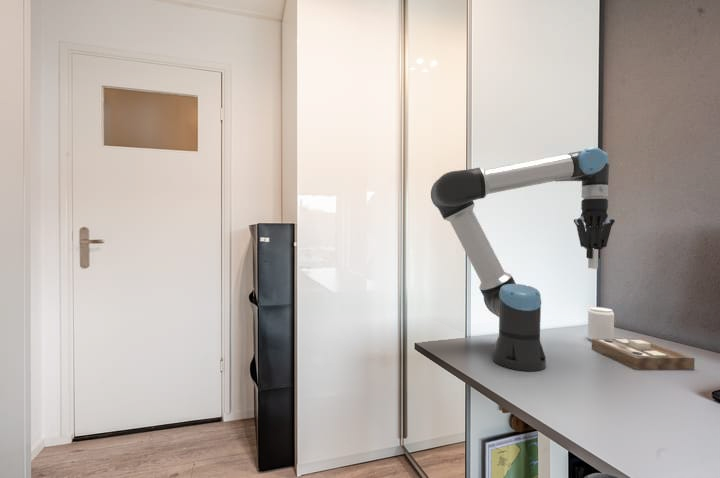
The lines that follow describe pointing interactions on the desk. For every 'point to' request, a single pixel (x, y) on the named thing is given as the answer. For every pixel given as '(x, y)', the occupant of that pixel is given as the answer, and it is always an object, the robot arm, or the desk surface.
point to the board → (643, 356)
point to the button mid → (639, 344)
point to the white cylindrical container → (600, 323)
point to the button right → (655, 353)
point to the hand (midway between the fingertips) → (592, 268)
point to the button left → (622, 341)
